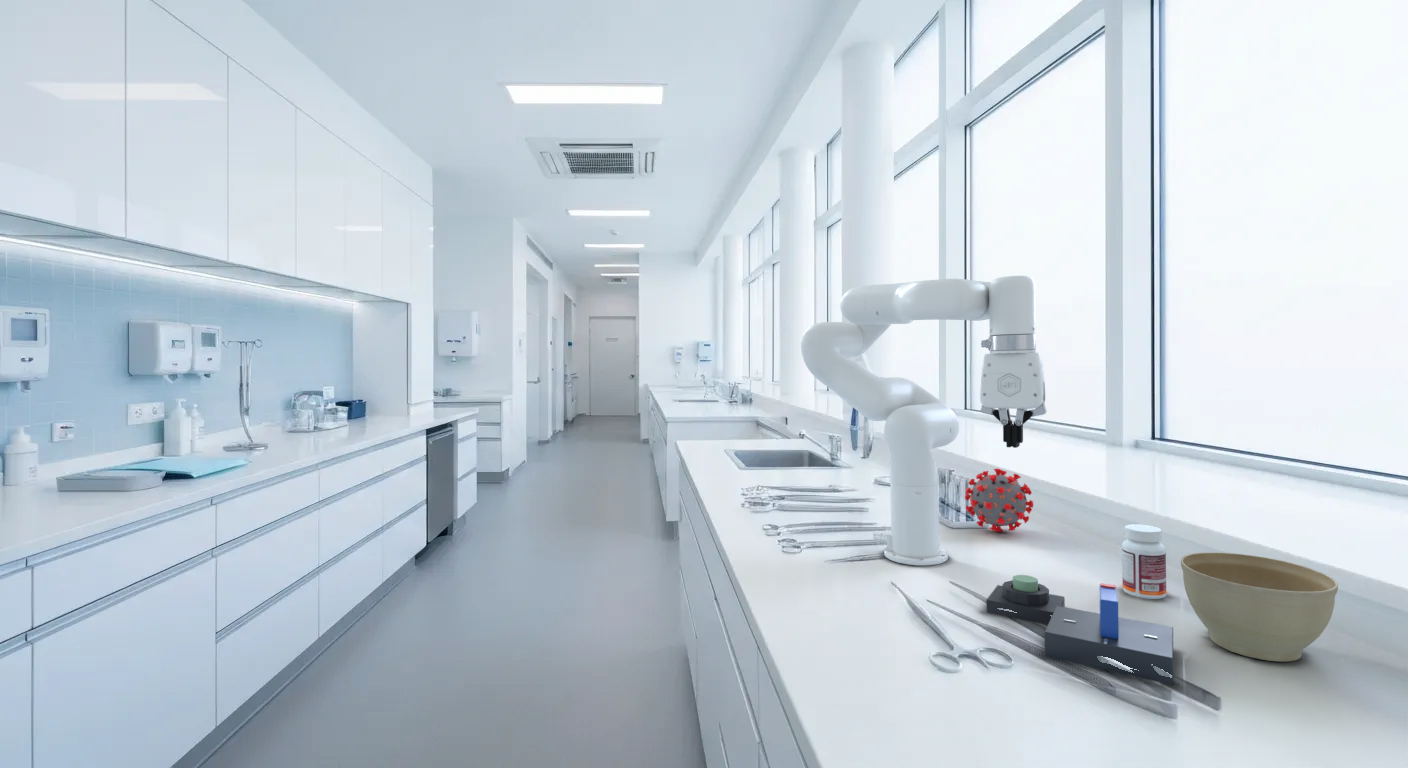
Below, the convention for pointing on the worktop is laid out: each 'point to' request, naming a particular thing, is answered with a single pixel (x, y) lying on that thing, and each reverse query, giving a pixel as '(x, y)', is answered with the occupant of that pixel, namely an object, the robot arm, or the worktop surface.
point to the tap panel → (1110, 644)
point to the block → (1024, 603)
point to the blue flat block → (1109, 611)
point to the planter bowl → (1258, 603)
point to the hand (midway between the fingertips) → (1013, 446)
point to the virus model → (998, 500)
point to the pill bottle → (1144, 562)
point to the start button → (1025, 583)
